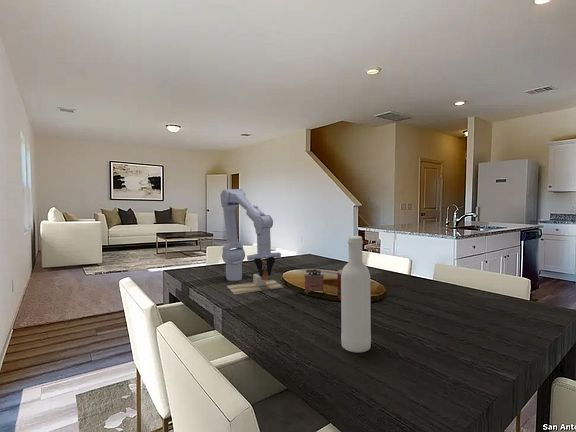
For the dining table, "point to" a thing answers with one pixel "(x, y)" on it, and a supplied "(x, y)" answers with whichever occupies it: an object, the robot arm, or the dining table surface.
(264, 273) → the awl
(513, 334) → the dining table surface
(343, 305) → the bottle
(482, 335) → the dining table surface
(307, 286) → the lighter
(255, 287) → the subfloor panel
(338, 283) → the canned food
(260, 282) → the block
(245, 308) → the dining table surface
